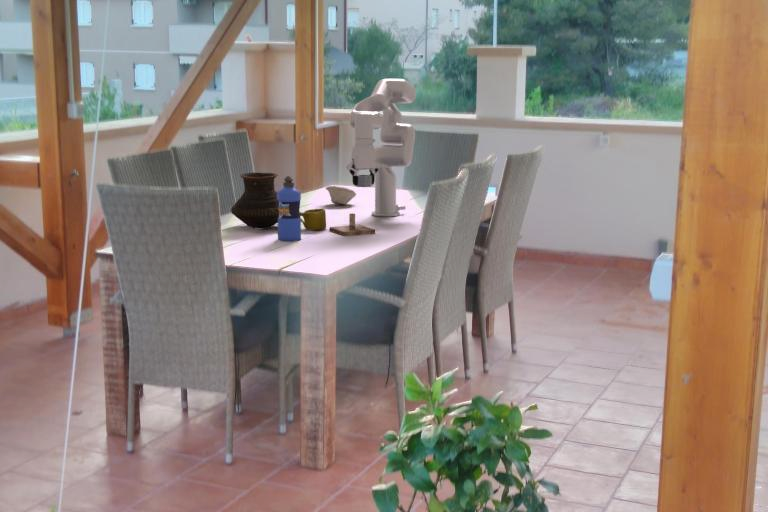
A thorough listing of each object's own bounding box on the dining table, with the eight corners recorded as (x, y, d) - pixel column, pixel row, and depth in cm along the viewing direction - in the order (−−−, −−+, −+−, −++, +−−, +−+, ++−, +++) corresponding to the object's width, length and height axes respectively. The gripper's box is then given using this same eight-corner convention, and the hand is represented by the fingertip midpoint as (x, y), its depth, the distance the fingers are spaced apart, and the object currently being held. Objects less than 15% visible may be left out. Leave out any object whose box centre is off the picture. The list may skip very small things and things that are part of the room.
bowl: (362, 204, 506) (362, 183, 504) (345, 208, 494) (345, 187, 492) (336, 201, 514) (336, 181, 512) (320, 205, 502) (319, 184, 500)
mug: (333, 223, 439) (326, 202, 435) (325, 234, 431) (317, 213, 427) (308, 226, 444) (300, 206, 440) (299, 238, 436) (291, 216, 432)
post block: (359, 228, 439) (359, 210, 438) (375, 233, 427) (375, 215, 426) (329, 230, 432) (329, 212, 431) (344, 235, 420) (344, 217, 419)
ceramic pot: (219, 229, 435) (218, 175, 431) (254, 220, 456) (253, 169, 452) (267, 234, 424) (266, 179, 419) (301, 225, 445) (300, 173, 440)
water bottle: (291, 242, 406) (290, 178, 401) (272, 240, 411) (271, 177, 406) (305, 238, 414) (305, 176, 409) (287, 236, 418) (286, 174, 413)
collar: (367, 184, 446) (367, 174, 445) (374, 186, 440) (374, 176, 439) (352, 185, 443) (352, 175, 442) (360, 187, 437) (360, 176, 436)
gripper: (377, 141, 445) (377, 182, 449) (341, 142, 437) (341, 184, 440) (386, 142, 439) (385, 184, 442) (349, 143, 430) (349, 186, 434)
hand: (363, 184), depth 441 cm, fingers closed on collar, 7 cm apart
